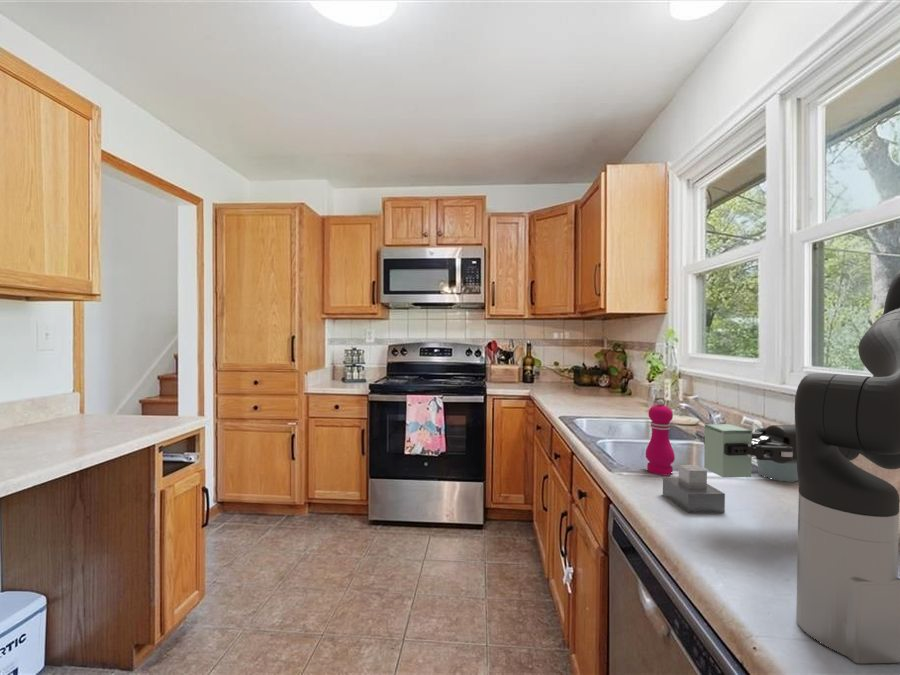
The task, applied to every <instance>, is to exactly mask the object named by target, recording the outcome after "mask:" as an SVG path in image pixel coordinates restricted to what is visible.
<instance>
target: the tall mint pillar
mask: <svg viewBox="0 0 900 675" xmlns="http://www.w3.org/2000/svg"><path fill="white" fill-rule="evenodd" d="M752 432H753V430H751V429H749V428H746V427H745V428H744V427H741V426H738V425H736V424H733V423H714V424H713V423H710V424H709V423H707V424H706V423H705V424H704V436H705V444H704V443H703V445H704V455H703V456H704V458H703V460H704V461H703V465H704V467H703V469H704V468H705V470H707V471H709V472H712V473H713V474H716V475H717V476H720V477H722V478H751V477H752V458H753V457H748V456H746V454H745V455H738V456H728V455H726V454H725V453H724V445H725V444H726V443H744V444H745V445H746V443H752Z"/></svg>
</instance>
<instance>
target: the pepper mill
mask: <svg viewBox="0 0 900 675" xmlns="http://www.w3.org/2000/svg"><path fill="white" fill-rule="evenodd" d="M647 413H648V417H649V419H650V426H649V427H650V428H651V437H650V440H649V443H648V445H647V446H646V449H645V458H646V460H647V461H648V462H647V466H646V468H647V471H648V472H649V473H651V472H652V473H651V474H654V473H655V474H654V475H658V474H659V476H669V475H668V474H671V475H673V473H671V472H673V468H674V467H673V466H672V464H673V463H674V462H675V459H676V456H675V452H674V448H673V447H672V444H671V441H670V436H669V435H670V434H669V432H670V429H671V423H670V422H671V421H672V420H673V418H674V417H673V415H674V413H673V411H672V409H671V408H670V407H668V406H667V405H665V401H664V400H663V399H658V400H657V402H656V405H652V406H651V407H650V408H649V410H648V412H647Z"/></svg>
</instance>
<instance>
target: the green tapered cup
mask: <svg viewBox="0 0 900 675" xmlns="http://www.w3.org/2000/svg"><path fill="white" fill-rule="evenodd" d="M766 428H767V427H766ZM766 428H765V427H759V428H755V429H754V432H756V433H761V434H762V433H763V431H764V430H765V429H766ZM756 460H757V462H756V463H757V473H758V475H760V476H761V475H762V476H761V477H763V476H765V477H768V478H767V479H769V478H772V479H775V480H774V481H777V480H778V482H783V481H787V482H786V483H795V481H796V482H798V481H799V480H798V473H797V464H779V463H776V462H774V461H772V460H758V459H756ZM765 477H764V478H765ZM772 479H771V480H772ZM797 480H798V481H797Z"/></svg>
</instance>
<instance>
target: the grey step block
mask: <svg viewBox="0 0 900 675" xmlns="http://www.w3.org/2000/svg"><path fill="white" fill-rule="evenodd" d="M662 495H663V496H664V497H665V498H667V499H668V500H669V501H671V502H673V503H674V504H675V505H677V506H678V507H679V508H681V509H682V510H683V511H685V512H686V513H687V514H689V513H691V514H692V513H695V514H696V513H725V510H726V509H725V507H726V493H724V492H723V491H720V490H719V489H717V488H715V487H714V486H712V485H710V484H708V469H706V468H705V469H704V467H701V466H699V465H697V464H678V477H662Z"/></svg>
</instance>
